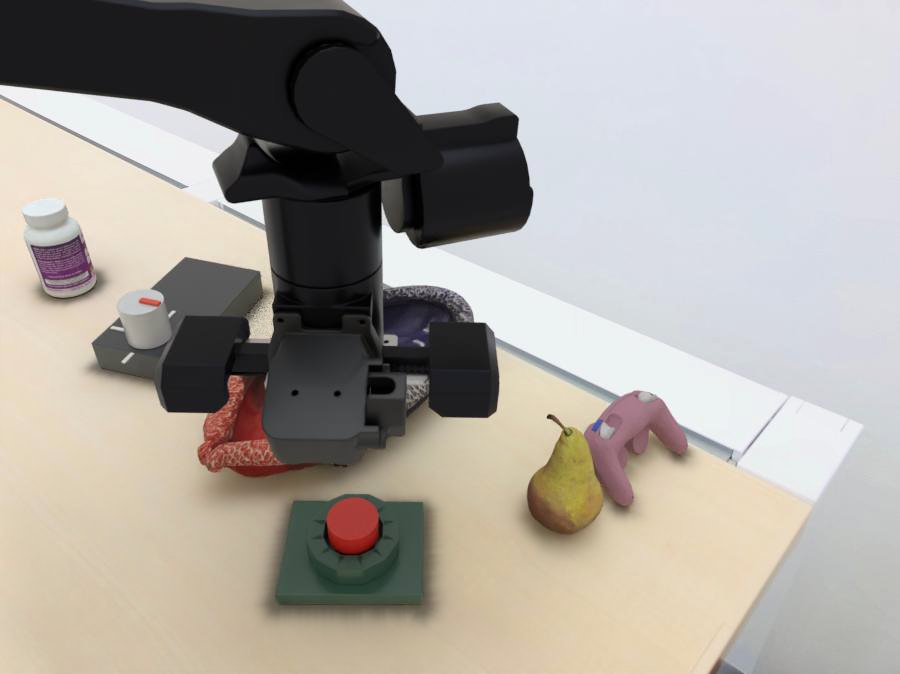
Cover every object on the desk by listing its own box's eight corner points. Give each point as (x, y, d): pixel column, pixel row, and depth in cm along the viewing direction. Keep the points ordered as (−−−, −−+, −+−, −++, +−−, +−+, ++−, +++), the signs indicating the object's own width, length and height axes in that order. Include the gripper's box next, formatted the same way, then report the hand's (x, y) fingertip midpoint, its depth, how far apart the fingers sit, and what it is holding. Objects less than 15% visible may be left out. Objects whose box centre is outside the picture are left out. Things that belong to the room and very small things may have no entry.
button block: (277, 604, 48) (272, 579, 46) (294, 509, 54) (291, 484, 52) (422, 604, 48) (423, 580, 46) (422, 511, 54) (423, 486, 52)
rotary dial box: (175, 398, 63) (168, 372, 61) (88, 378, 64) (78, 352, 62) (263, 293, 76) (260, 269, 74) (190, 279, 78) (184, 255, 76)
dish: (514, 357, 70) (519, 317, 67) (261, 544, 51) (252, 501, 48) (405, 294, 78) (406, 256, 75) (151, 436, 59) (138, 393, 56)
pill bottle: (108, 282, 77) (84, 204, 71) (64, 305, 73) (35, 224, 67) (77, 267, 79) (51, 189, 73) (33, 288, 75) (2, 208, 69)
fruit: (585, 559, 52) (617, 450, 44) (513, 532, 53) (532, 421, 46) (603, 505, 56) (635, 396, 48) (535, 480, 57) (556, 372, 50)
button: (325, 554, 48) (323, 539, 47) (331, 512, 51) (329, 496, 50) (377, 555, 48) (377, 539, 47) (380, 512, 51) (379, 497, 50)
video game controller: (648, 441, 64) (634, 373, 61) (693, 451, 60) (680, 379, 58) (584, 499, 58) (565, 427, 56) (630, 514, 54) (612, 437, 52)
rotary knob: (118, 344, 64) (106, 306, 61) (143, 319, 67) (133, 282, 64) (157, 353, 63) (146, 315, 60) (180, 327, 66) (172, 290, 63)
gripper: (78, 354, 29) (158, 570, 38) (524, 364, 30) (492, 572, 39) (160, 223, 37) (208, 426, 47) (502, 233, 38) (480, 430, 48)
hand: (341, 462), depth 45 cm, fingers closed
